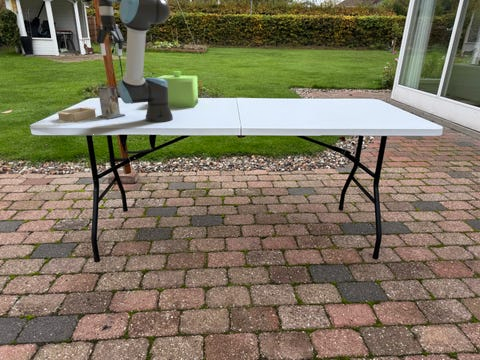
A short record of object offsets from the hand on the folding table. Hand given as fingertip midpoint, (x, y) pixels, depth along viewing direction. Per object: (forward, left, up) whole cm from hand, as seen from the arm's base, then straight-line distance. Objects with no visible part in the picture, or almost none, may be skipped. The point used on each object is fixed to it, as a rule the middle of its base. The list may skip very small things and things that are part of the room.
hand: (111, 55), depth 202 cm
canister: (-11, -46, -34) cm, 58 cm away
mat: (-4, +10, -34) cm, 36 cm away
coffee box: (-4, +10, -33) cm, 35 cm away
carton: (+9, +23, -34) cm, 42 cm away
